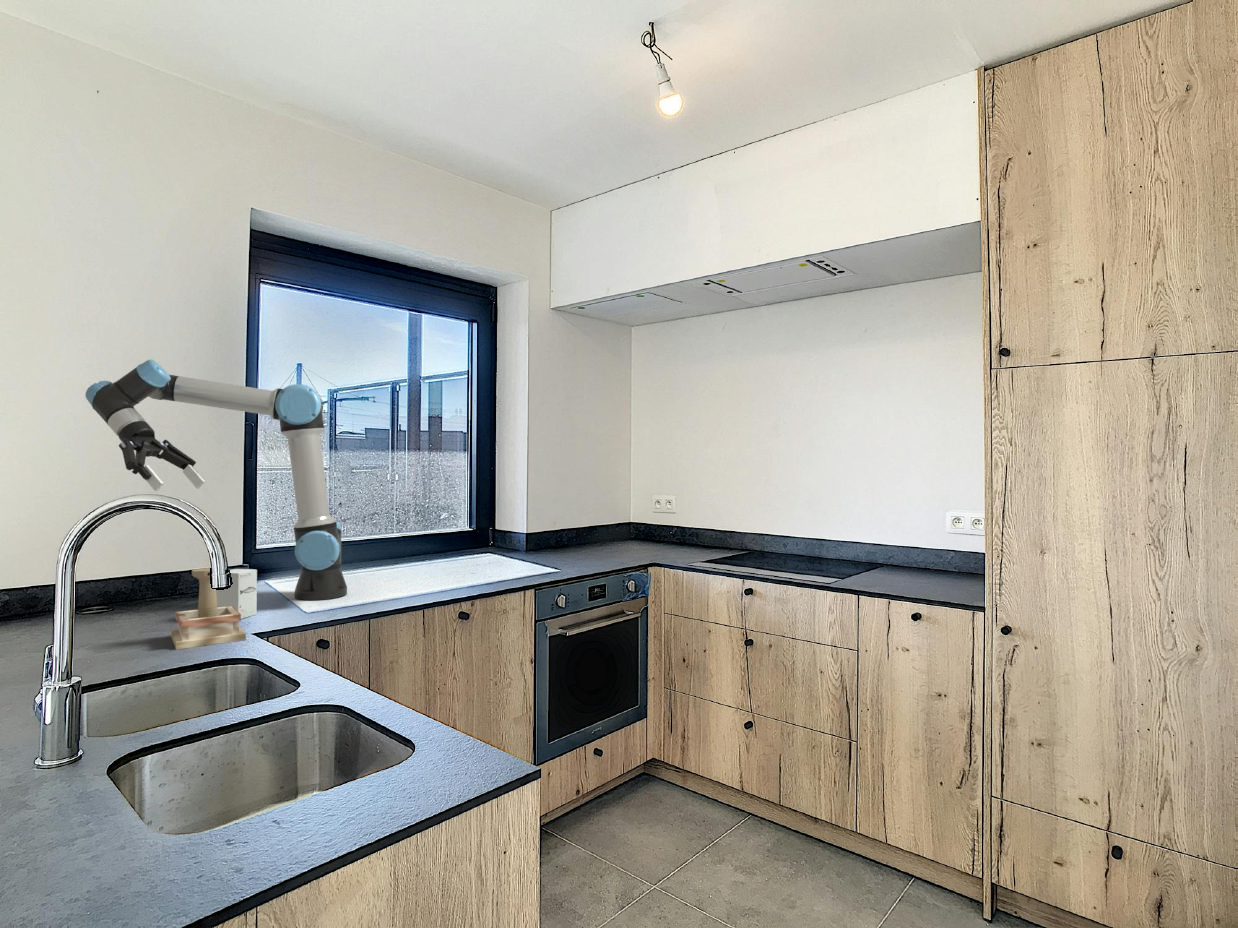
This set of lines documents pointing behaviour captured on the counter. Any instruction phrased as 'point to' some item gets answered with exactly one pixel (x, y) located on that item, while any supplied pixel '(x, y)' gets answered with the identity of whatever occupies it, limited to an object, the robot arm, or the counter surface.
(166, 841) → the counter surface
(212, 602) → the handle
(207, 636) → the board
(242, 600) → the supplement box
